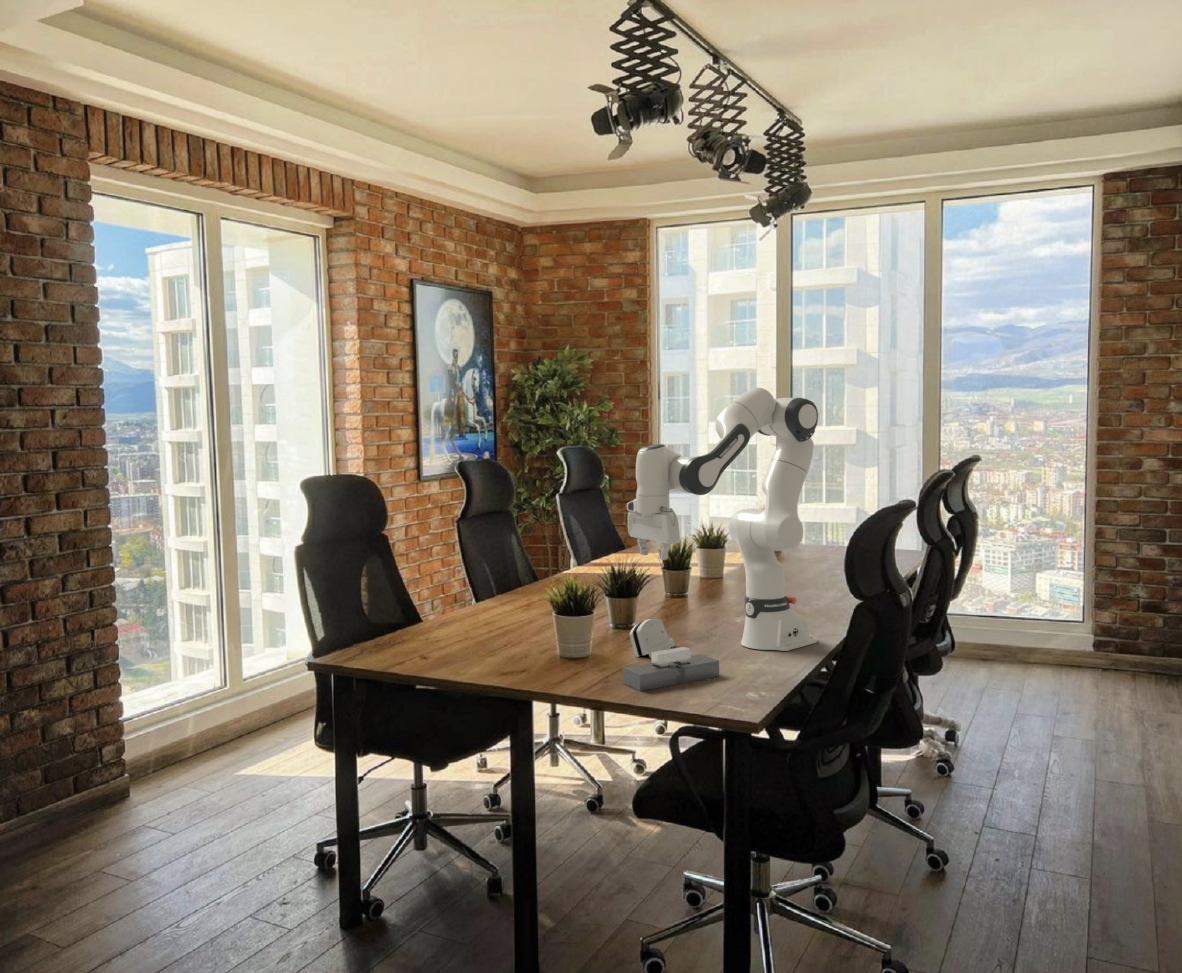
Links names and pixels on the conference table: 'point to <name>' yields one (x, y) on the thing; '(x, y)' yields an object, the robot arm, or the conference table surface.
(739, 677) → the conference table surface
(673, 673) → the rail
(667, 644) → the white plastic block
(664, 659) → the clip
